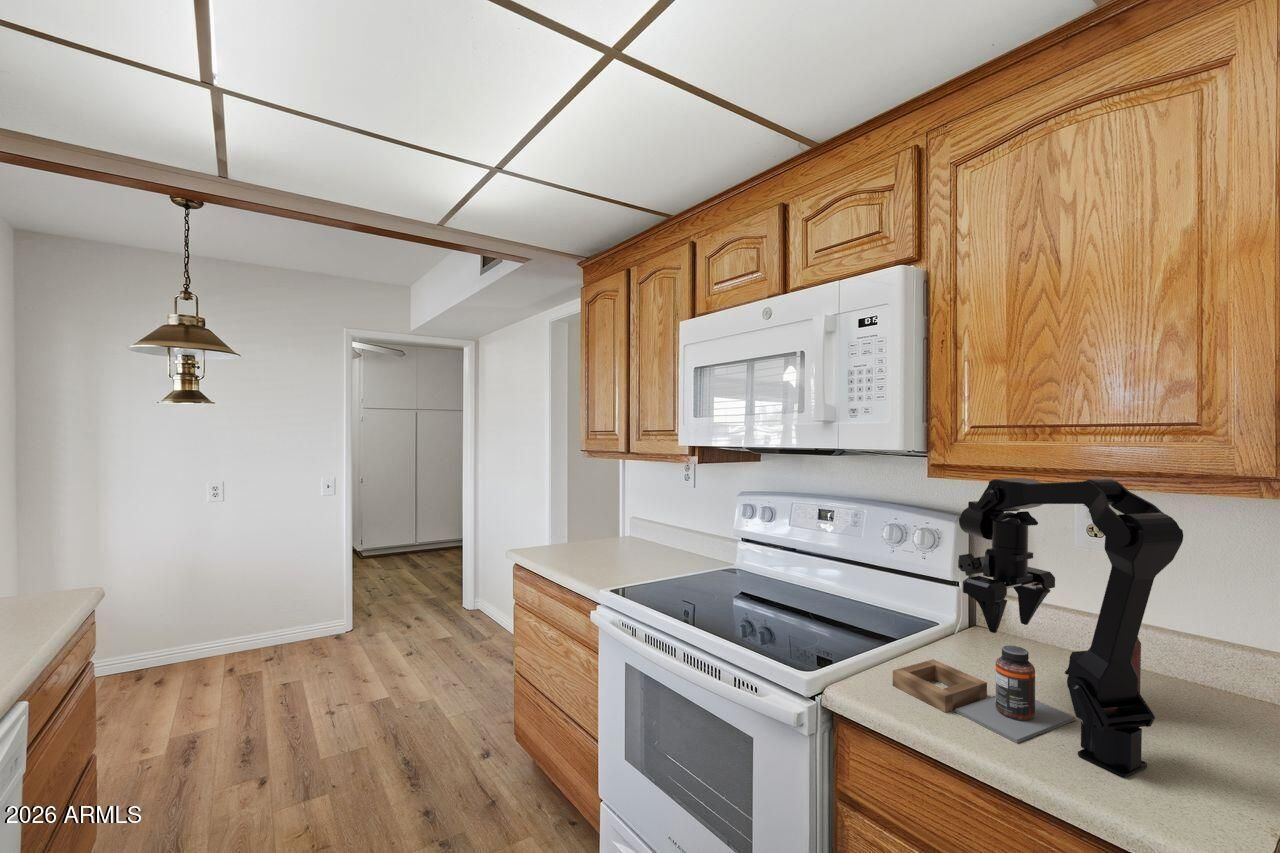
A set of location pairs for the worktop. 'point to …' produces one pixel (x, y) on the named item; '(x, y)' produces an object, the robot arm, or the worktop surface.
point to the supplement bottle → (1015, 684)
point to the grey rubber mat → (1010, 727)
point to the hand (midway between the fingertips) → (1008, 628)
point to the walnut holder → (947, 699)
